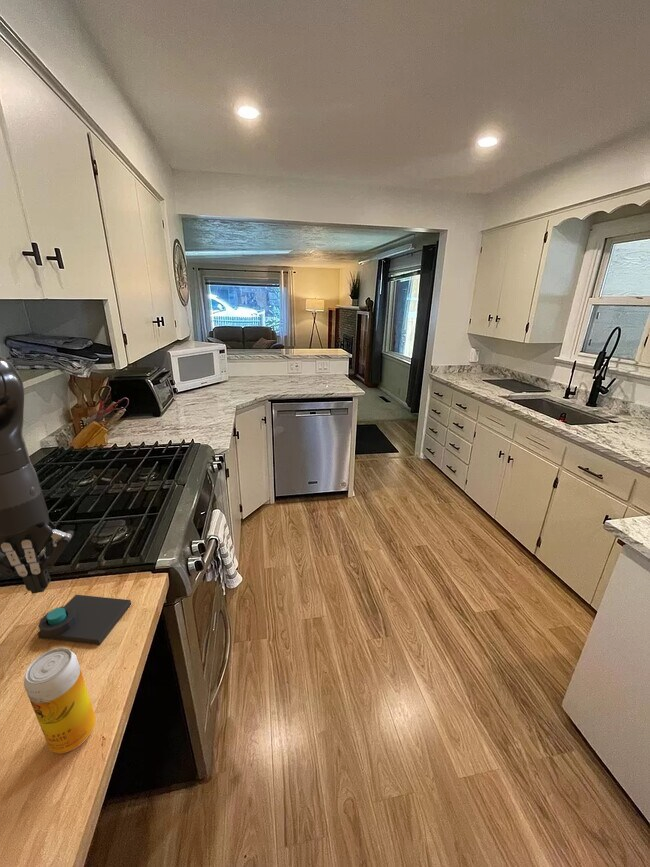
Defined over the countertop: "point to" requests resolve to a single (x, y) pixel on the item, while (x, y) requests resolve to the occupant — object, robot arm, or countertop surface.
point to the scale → (86, 620)
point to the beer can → (60, 699)
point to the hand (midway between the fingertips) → (40, 589)
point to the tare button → (56, 616)
